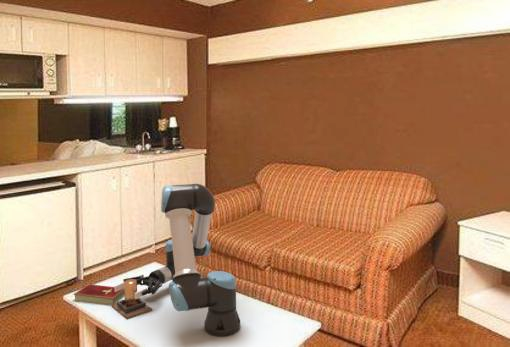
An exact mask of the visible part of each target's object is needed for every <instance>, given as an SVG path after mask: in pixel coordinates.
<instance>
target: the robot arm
mask: <svg viewBox="0 0 510 347" xmlns="http://www.w3.org/2000/svg"><path fill="white" fill-rule="evenodd" d="M215 199H216V198H215V197H214V195H213V193H212V191H211V190H210V189H209V188H208V187H207V186H205V185H203V184H200V183H191V184H190V183H187V184H186V183H185V184H171V185H165V186H164V187H162V191H161V202H160V205H161V206H160V211H161V213H164V214H165V218H167V219H168V220H169V226H170V236H171V239H168V240H167V241H166V242H165V260H166V261H165V264H166V265H165V266H162V267H160V268H157V269H155V270H154V271H151V272H149V275H148V276H144V274H141V275H138V276H133V277H129V278H127V277H126V278H123V280H122V281H123V282H121V283H118V284H116V285H114V286H113V287H114V288H115V292H117V291H119V290H122V289H124V281H126V280H129V279H135V280H137V286H139V285H140V286H146V287H145V288H143V289H141V290H137V292H136V293H135V299H138V298H140V299H141V298H142V297H144V296H147V295H150V294H151V295H155V294H156V292H157V291H158V290H160V288H162V287H163V284H166V283H168V282H169V284H168V288H169V295H170V301H171V304H172V306H173V308H174V310H175V311H176V312H188V311H192V310H198V309H205V308H208V309H207V314H206V317H205V320H204V321H203V322H204V323H203V324H204V325H203V328H204V331H205V332H206V333H207V334H208V335H210V336H214V337H228V336H232V335H234V334H236V333H238V332H239V331H240V330H241V319H240V315H239V313H238V311H237V281H236V280H237V279H236V277H235V276H234V275H233V274H232V273H230V272H227V271H223V270H221V271H220V270H214V271H210V272H209V273H207V276H206V277H202V275H201V273H200V272H199V271H198V270H197V267H196V266H197V264H196V259H195V258H197V257H205V256H209V255H210V253H211V245H210V242H209V241H208V236H209V231H210V230H209V229H210V225H211V218H212V215H213V213H214V212H215V208H216V200H215ZM193 211H195V213H194V214H195V215H194V222H193V228H191V220H190V216H191V215H192V214H193ZM191 229H193V230H191Z"/></svg>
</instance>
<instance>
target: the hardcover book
mask: <svg viewBox="0 0 510 347" xmlns="http://www.w3.org/2000/svg"><path fill="white" fill-rule="evenodd" d="M72 295H73V296H74V301H75V302H82V301H83V303H91V304H101V305H109V306H110V305H111V306H112V304H115V303H117V302H119V301H121V299H122V298H125V290H124V289H122V290H119V291H117V292H115V288H114V286H111V285H110V286H108V285H98V284H90V283H89V284H86V285H85V286H83V287H82V288H80V289H79V290H78V291H76V292H74V293H73V294H72Z"/></svg>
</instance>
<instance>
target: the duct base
mask: <svg viewBox="0 0 510 347" xmlns="http://www.w3.org/2000/svg"><path fill="white" fill-rule="evenodd" d="M111 308H113V309H114V310H115V311H117V313H119V314H120V315H121V316H123V318H124V319H126V320H129V319H132V318H135V317H138V316H140V315H144V314H146V313H149V312H152V311H153V308H152V307H150V306H149V305H148V304H147V303H146V301H144V300H142V298H141V297H140V298H138V304H137V305H134V306H131V307H128V308H127V307H126V306H125V299H123V300H119V301H118V302H116V303H115V304H112V305H111Z"/></svg>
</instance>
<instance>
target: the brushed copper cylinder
mask: <svg viewBox="0 0 510 347" xmlns="http://www.w3.org/2000/svg"><path fill="white" fill-rule="evenodd" d="M123 282H124V290H125V296H124V300H125V306H126V307H127V308H128V307H131V306H134V305H137V304H138V299H135V293H136V292H138V285H137V280H135V279H129V280H126V281H124V280H123Z"/></svg>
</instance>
